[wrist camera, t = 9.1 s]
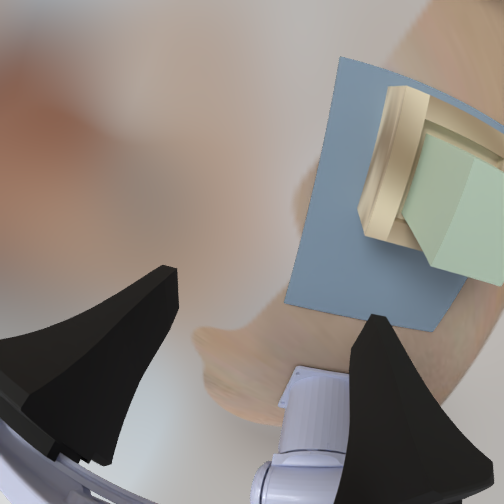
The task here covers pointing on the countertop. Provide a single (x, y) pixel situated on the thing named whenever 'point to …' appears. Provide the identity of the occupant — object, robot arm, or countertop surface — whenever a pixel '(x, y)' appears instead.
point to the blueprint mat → (349, 224)
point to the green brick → (458, 211)
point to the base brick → (415, 156)
